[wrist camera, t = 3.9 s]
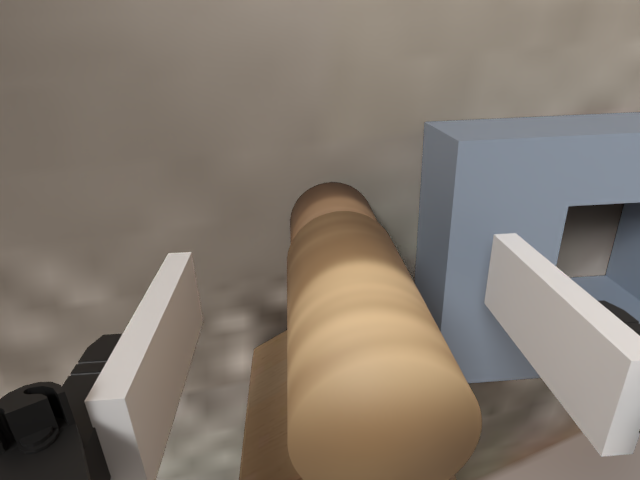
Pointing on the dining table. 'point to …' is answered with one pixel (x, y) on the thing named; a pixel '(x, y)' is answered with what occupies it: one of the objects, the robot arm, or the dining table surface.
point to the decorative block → (268, 416)
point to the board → (519, 218)
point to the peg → (366, 354)
